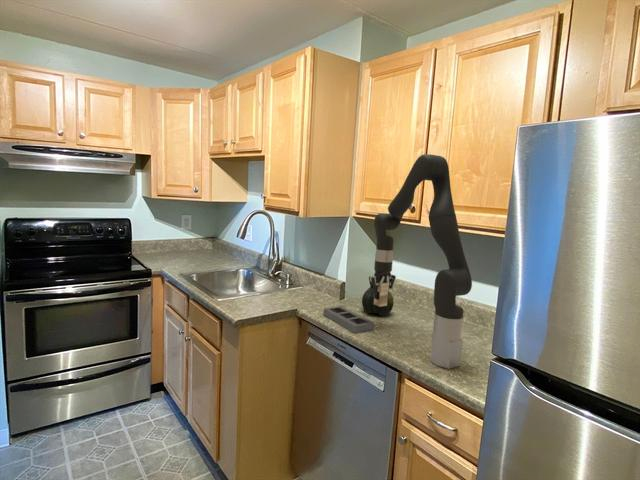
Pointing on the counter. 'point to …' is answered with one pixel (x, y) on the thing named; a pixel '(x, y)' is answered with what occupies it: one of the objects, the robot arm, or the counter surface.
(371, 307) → the squash
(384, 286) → the square peg
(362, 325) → the gray slotted tray
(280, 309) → the counter surface
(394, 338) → the counter surface
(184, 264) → the counter surface
